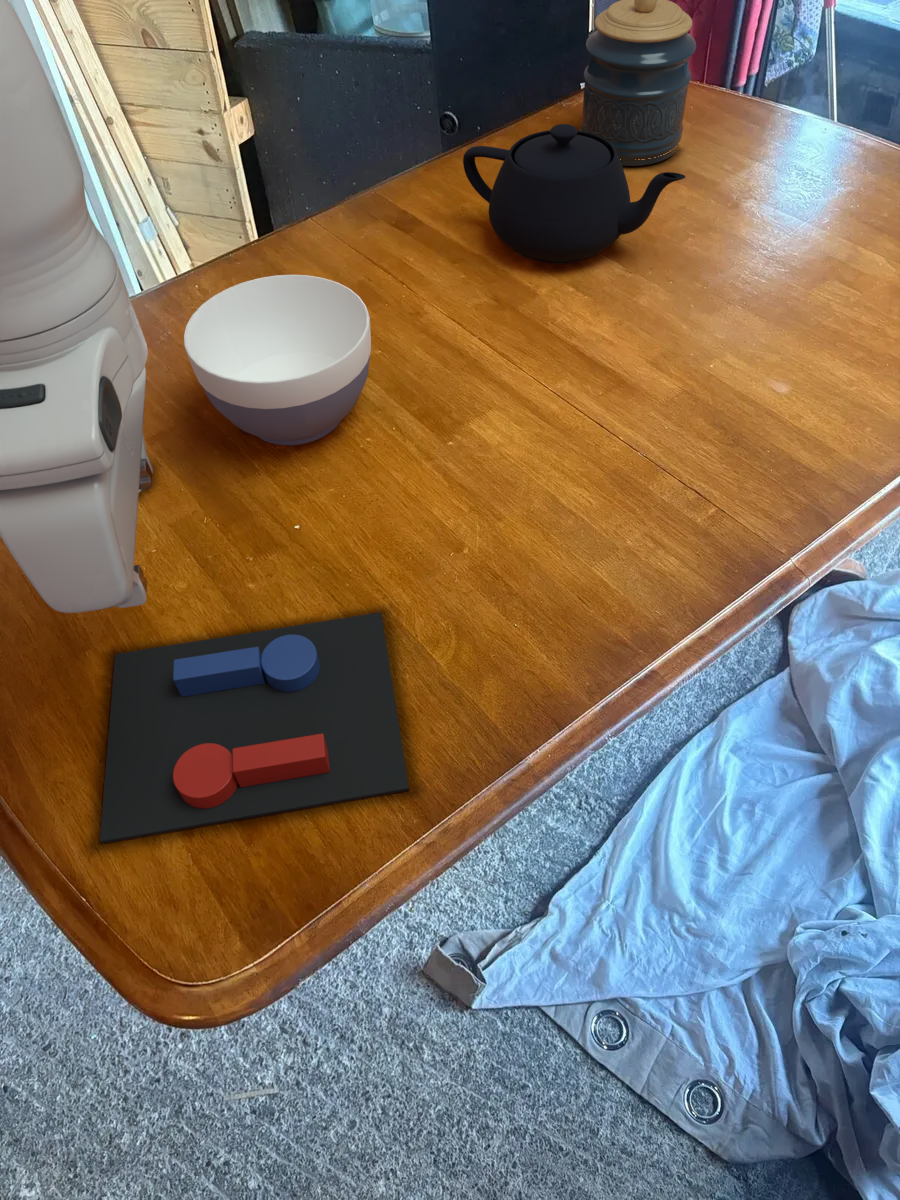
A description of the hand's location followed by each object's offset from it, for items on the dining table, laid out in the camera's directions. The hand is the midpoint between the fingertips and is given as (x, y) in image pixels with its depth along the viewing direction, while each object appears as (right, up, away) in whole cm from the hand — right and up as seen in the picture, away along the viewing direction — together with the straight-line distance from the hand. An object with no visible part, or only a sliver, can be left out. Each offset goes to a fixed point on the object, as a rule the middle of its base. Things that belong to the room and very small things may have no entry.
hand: (136, 537), depth 53 cm
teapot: (+32, +37, +48) cm, 68 cm away
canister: (+42, +55, +62) cm, 93 cm away
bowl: (+4, +14, +30) cm, 34 cm away
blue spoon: (+4, -9, +11) cm, 15 cm away
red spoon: (+6, -15, +6) cm, 18 cm away
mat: (+5, -12, +9) cm, 16 cm away
